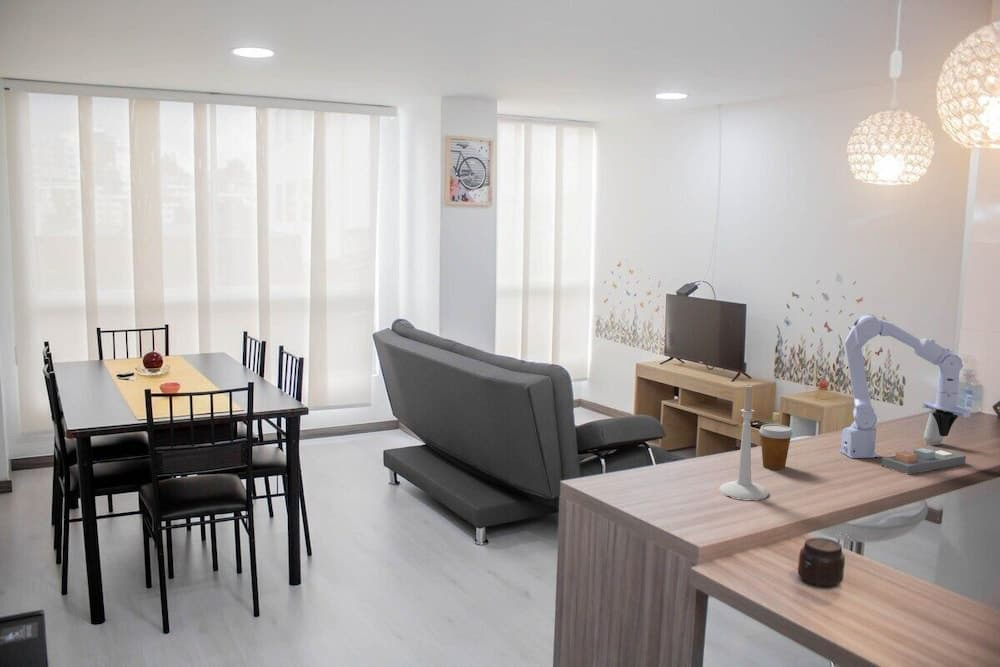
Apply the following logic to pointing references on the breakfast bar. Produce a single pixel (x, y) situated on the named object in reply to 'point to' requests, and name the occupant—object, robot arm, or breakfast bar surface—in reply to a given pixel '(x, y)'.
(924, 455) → the slate key
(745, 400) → the candlestick
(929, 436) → the salt shaker
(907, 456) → the terracotta key
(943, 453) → the cream key
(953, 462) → the key panel
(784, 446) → the disposable coffee cup
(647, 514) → the breakfast bar surface
